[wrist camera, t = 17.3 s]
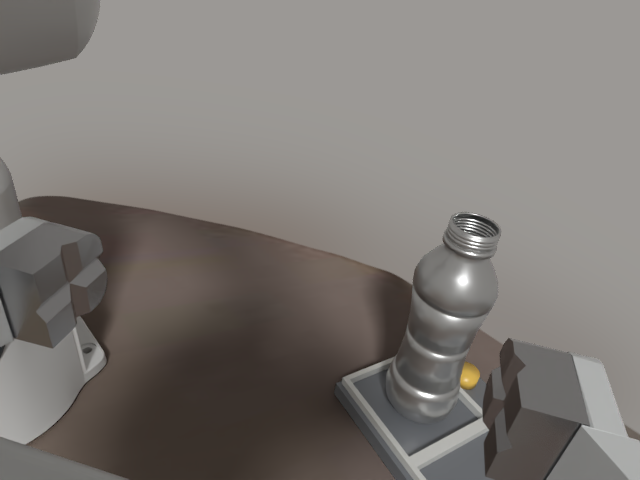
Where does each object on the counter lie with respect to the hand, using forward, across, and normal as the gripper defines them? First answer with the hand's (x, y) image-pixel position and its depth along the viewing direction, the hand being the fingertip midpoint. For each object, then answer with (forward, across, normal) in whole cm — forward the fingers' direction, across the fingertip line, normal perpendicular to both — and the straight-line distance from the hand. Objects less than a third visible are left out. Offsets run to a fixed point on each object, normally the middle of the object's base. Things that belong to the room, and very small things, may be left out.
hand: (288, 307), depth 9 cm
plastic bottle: (+25, -7, +31) cm, 40 cm away
